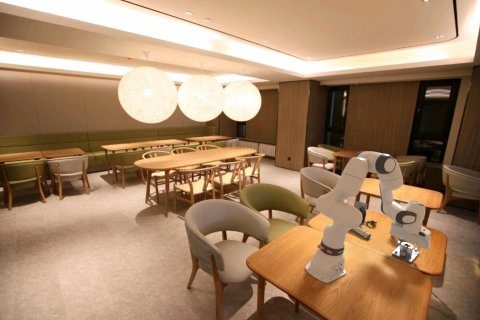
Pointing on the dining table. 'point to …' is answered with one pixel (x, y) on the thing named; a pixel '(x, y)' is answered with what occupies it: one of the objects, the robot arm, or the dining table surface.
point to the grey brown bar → (362, 232)
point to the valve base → (403, 255)
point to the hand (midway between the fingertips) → (406, 247)
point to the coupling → (406, 248)
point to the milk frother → (363, 211)
